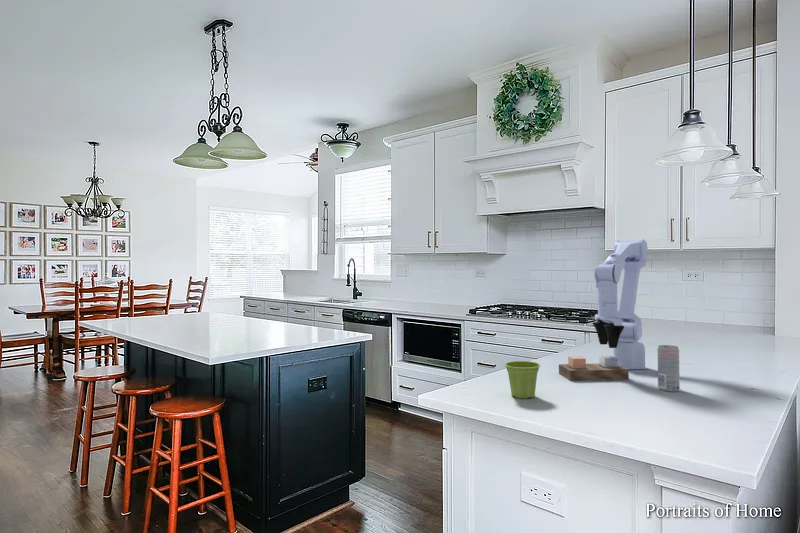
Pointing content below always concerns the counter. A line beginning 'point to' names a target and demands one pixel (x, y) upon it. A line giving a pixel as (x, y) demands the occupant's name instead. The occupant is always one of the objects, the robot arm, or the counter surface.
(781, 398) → the counter surface
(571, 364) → the terracotta button
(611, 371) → the button panel
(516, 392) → the plant pot
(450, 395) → the counter surface
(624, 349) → the robot arm
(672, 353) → the energy drink
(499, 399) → the counter surface
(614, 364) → the white marbled block
